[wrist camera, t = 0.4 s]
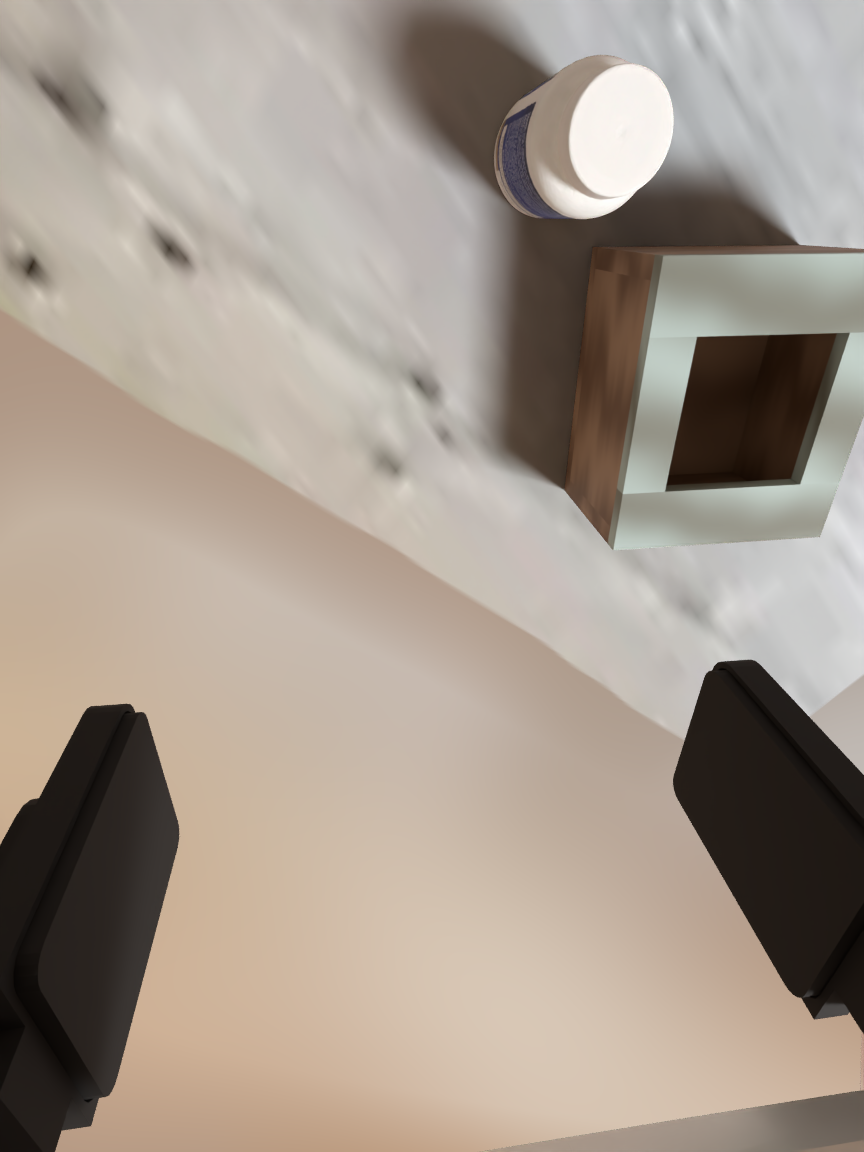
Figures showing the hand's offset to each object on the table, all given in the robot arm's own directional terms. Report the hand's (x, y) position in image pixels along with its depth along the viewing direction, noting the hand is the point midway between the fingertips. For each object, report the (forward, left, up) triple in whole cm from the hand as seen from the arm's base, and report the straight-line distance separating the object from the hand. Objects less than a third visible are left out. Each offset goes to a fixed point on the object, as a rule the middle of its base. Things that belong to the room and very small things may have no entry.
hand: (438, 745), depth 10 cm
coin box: (+1, +18, -28) cm, 34 cm away
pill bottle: (-10, +9, -29) cm, 32 cm away
